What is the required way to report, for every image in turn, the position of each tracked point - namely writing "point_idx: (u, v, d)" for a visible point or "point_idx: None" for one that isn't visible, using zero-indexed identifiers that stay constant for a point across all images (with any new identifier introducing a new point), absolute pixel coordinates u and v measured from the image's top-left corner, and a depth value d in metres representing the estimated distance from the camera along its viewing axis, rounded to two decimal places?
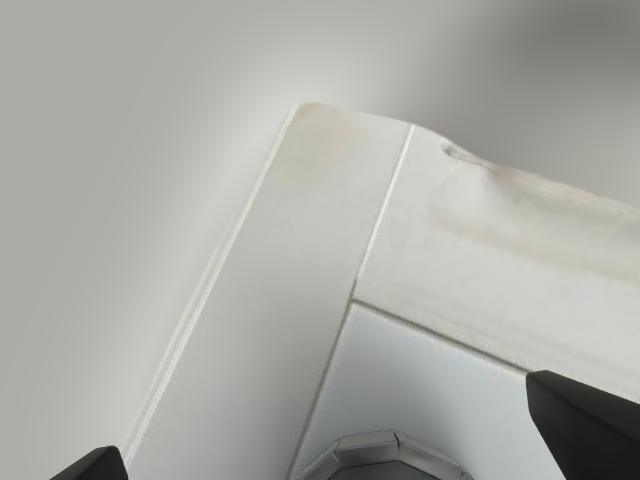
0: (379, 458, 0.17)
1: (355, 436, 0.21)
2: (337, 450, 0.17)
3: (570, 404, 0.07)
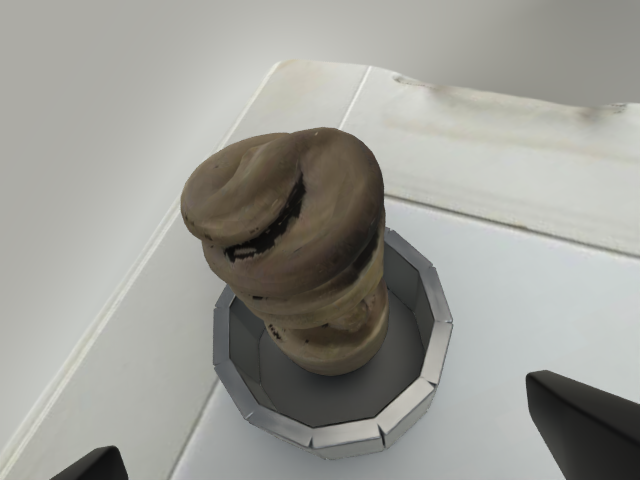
0: None
1: None
2: None
3: (570, 404, 0.07)
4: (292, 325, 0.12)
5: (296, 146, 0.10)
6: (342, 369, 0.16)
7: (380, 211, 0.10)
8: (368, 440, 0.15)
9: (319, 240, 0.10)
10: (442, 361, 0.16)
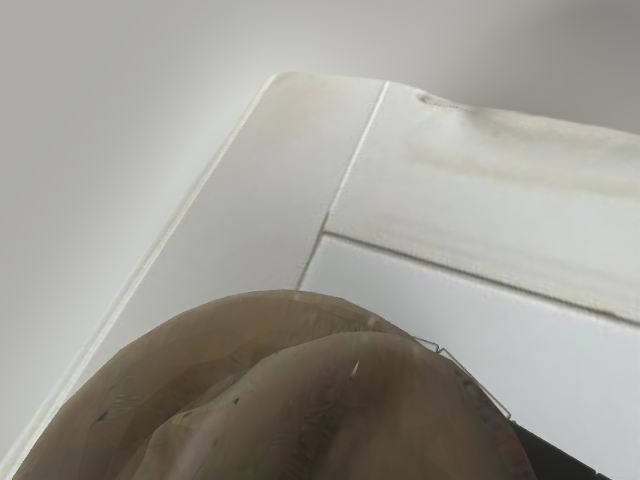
0: None
1: None
2: None
3: None
4: None
5: (301, 442, 0.03)
6: None
7: None
8: None
9: None
10: None
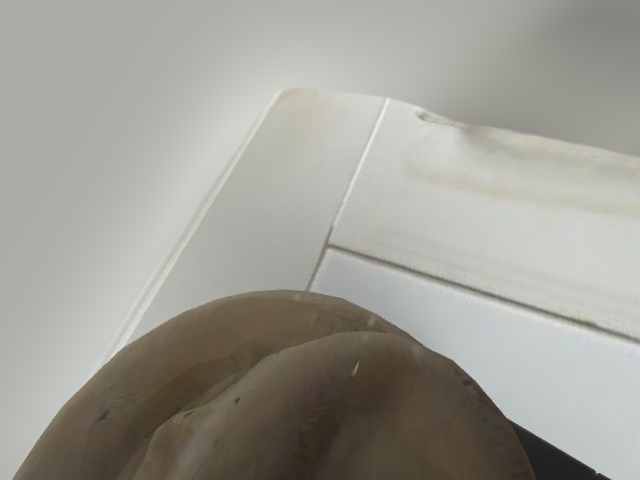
0: None
1: None
2: None
3: None
4: None
5: (302, 441, 0.03)
6: None
7: None
8: None
9: None
10: None
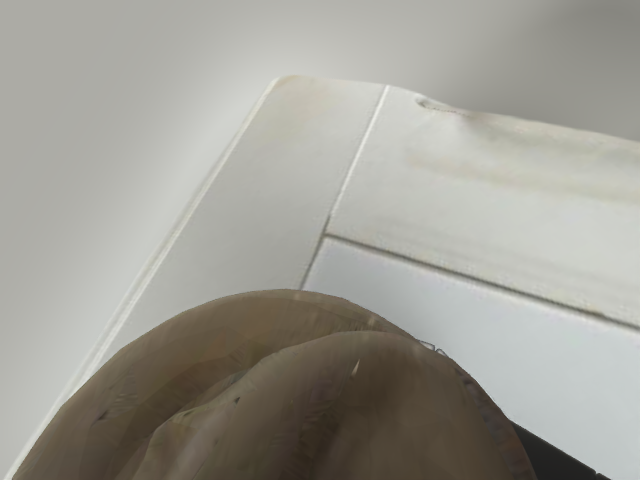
0: None
1: None
2: None
3: None
4: None
5: (302, 441, 0.03)
6: None
7: None
8: None
9: None
10: None
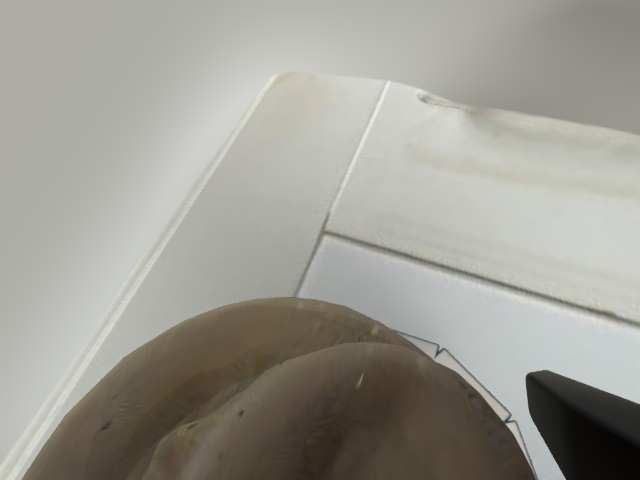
0: None
1: None
2: None
3: (570, 404, 0.07)
4: None
5: (306, 456, 0.03)
6: None
7: None
8: None
9: None
10: None
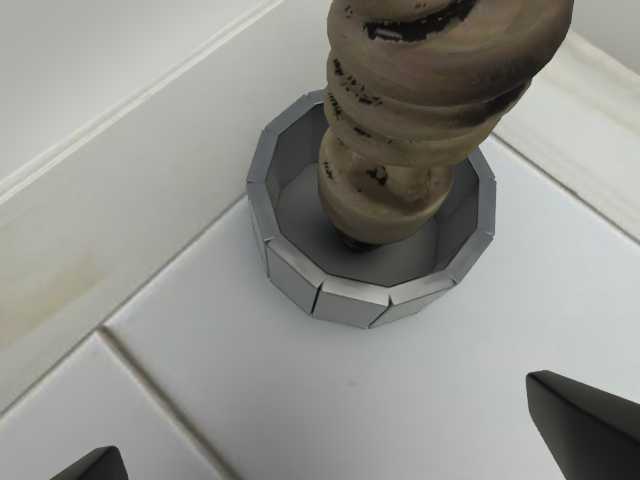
0: None
1: None
2: None
3: (570, 404, 0.07)
4: (376, 154, 0.11)
5: None
6: (374, 235, 0.16)
7: (555, 52, 0.09)
8: (375, 304, 0.15)
9: (483, 51, 0.08)
10: (470, 265, 0.16)
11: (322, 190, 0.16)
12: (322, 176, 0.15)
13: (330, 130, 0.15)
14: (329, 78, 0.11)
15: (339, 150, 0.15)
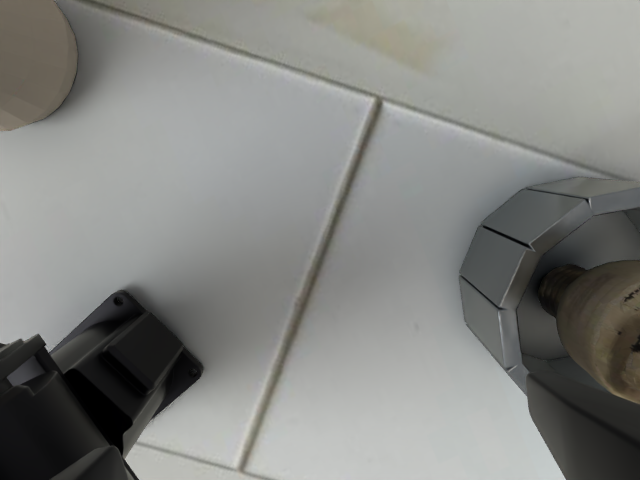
0: None
1: None
2: None
3: (570, 404, 0.07)
4: None
5: None
6: (569, 341, 0.16)
7: None
8: (502, 356, 0.17)
9: None
10: None
11: (605, 285, 0.15)
12: (623, 289, 0.14)
13: None
14: None
15: None
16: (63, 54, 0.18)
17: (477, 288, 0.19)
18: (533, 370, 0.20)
